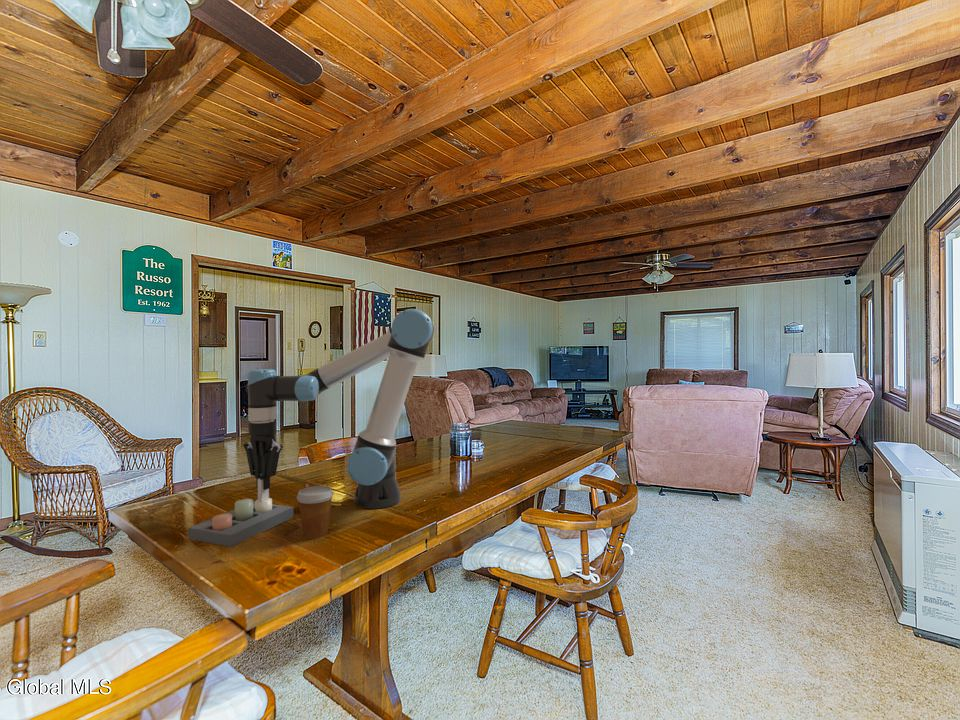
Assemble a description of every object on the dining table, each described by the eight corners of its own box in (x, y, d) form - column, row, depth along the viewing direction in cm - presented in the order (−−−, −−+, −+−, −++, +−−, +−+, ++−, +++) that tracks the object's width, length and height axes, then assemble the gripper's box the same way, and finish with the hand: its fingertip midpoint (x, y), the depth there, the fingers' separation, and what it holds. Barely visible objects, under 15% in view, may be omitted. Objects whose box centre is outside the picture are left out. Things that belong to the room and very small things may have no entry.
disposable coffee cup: (297, 543, 116) (296, 498, 116) (296, 530, 125) (296, 487, 125) (335, 537, 120) (335, 493, 120) (332, 525, 129) (331, 483, 128)
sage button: (256, 517, 129) (256, 499, 129) (243, 522, 124) (243, 504, 124) (244, 515, 130) (244, 498, 130) (231, 520, 126) (230, 503, 126)
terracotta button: (236, 532, 122) (235, 514, 122) (221, 539, 118) (221, 520, 118) (223, 530, 124) (223, 512, 124) (208, 537, 119) (208, 518, 119)
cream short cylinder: (275, 515, 135) (275, 498, 135) (263, 520, 131) (263, 503, 131) (263, 513, 137) (263, 497, 137) (251, 518, 132) (251, 501, 132)
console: (293, 517, 135) (293, 507, 135) (230, 546, 114) (230, 535, 114) (255, 511, 140) (255, 501, 140) (188, 538, 120) (188, 527, 119)
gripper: (289, 420, 135) (289, 498, 135) (256, 418, 139) (256, 493, 140) (269, 424, 128) (270, 506, 128) (235, 421, 132) (236, 501, 132)
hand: (263, 499), depth 134 cm, fingers closed
